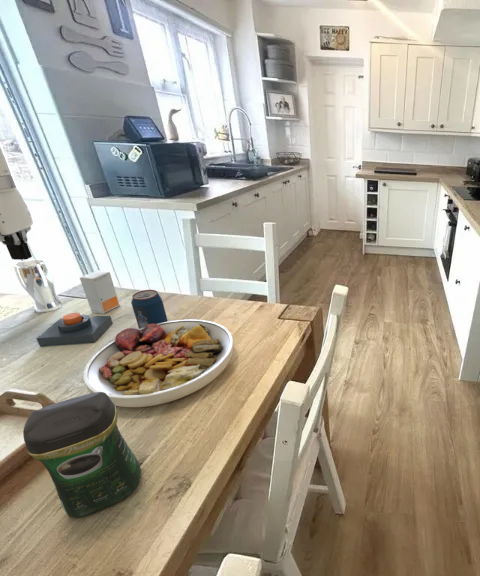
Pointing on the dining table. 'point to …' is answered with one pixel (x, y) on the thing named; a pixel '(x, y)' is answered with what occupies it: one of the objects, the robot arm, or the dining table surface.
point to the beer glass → (38, 284)
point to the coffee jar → (83, 453)
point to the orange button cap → (72, 318)
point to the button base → (75, 331)
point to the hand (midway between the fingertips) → (22, 258)
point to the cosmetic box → (100, 291)
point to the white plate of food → (159, 362)
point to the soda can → (148, 308)
